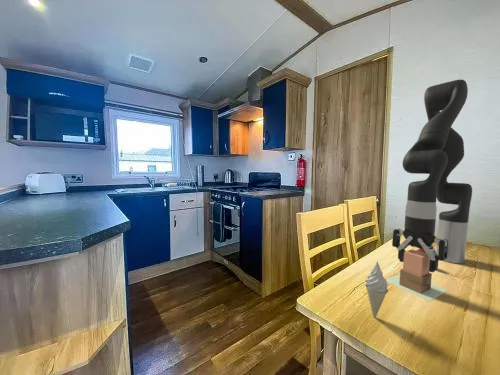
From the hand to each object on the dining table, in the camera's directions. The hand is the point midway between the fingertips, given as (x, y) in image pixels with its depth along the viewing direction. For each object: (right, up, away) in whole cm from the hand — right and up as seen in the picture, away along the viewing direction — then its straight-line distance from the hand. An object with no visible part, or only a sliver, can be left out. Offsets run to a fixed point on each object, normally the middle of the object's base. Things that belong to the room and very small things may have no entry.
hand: (416, 266), depth 69 cm
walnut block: (0, -7, +1) cm, 7 cm away
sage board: (+1, -8, +2) cm, 8 cm away
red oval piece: (+16, -7, +18) cm, 25 cm away
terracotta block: (0, -2, 0) cm, 2 cm away
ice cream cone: (-20, -9, -12) cm, 25 cm away
